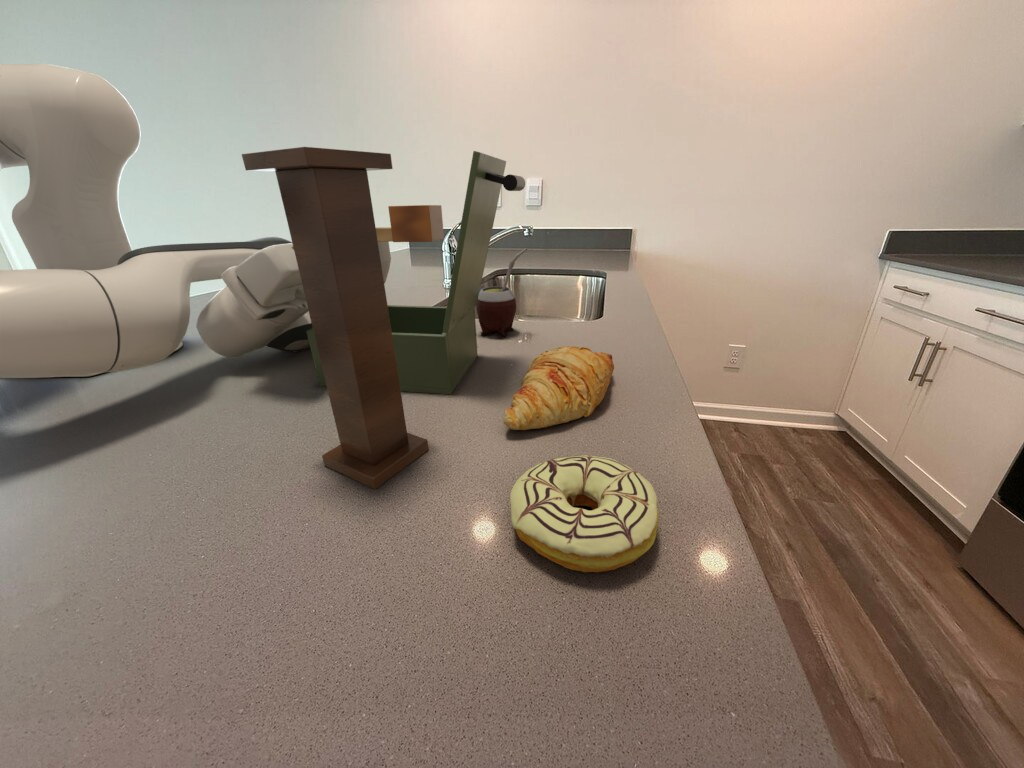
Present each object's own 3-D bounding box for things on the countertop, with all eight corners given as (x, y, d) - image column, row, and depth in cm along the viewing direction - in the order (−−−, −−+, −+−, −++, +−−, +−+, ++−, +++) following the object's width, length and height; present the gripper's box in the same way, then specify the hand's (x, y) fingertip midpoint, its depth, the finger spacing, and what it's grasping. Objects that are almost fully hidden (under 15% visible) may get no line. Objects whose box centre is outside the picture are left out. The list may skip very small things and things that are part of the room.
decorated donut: (532, 471, 37) (533, 436, 36) (655, 494, 34) (661, 457, 33) (492, 559, 28) (489, 518, 27) (652, 602, 25) (661, 558, 24)
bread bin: (319, 386, 55) (305, 331, 52) (368, 350, 67) (360, 304, 64) (450, 394, 52) (445, 336, 49) (477, 356, 64) (474, 307, 61)
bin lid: (473, 150, 40) (515, 161, 39) (501, 159, 52) (533, 168, 51) (442, 332, 48) (476, 342, 48) (472, 304, 61) (499, 312, 60)
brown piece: (325, 243, 50) (318, 207, 49) (344, 240, 55) (338, 207, 53) (432, 241, 48) (428, 205, 47) (444, 239, 52) (441, 205, 51)
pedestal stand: (324, 465, 39) (241, 153, 28) (380, 431, 44) (329, 159, 33) (375, 489, 35) (304, 146, 24) (429, 449, 41) (390, 153, 30)
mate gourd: (473, 330, 76) (467, 246, 69) (511, 324, 79) (509, 243, 72) (487, 342, 70) (482, 251, 63) (528, 335, 72) (528, 247, 66)
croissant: (529, 475, 42) (561, 429, 37) (465, 410, 45) (486, 359, 40) (621, 396, 57) (653, 355, 51) (567, 352, 60) (592, 308, 54)
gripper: (341, 291, 66) (404, 246, 62) (245, 323, 48) (325, 263, 43) (316, 256, 65) (379, 207, 60) (207, 276, 46) (286, 207, 42)
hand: (356, 230), depth 51 cm, fingers closed on brown piece, 2 cm apart
